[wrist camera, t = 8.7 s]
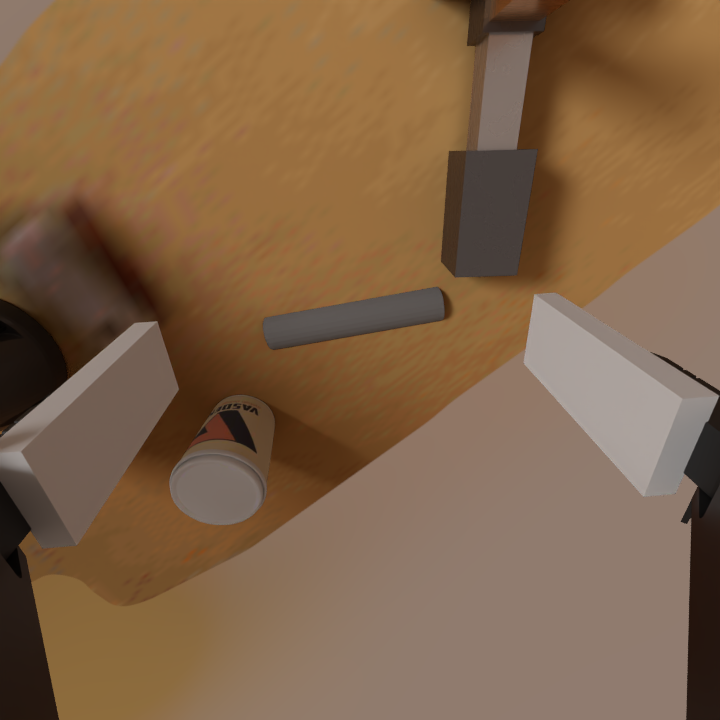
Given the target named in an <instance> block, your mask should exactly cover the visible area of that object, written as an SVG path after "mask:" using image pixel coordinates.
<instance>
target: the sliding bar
mask: <svg viewBox="0 0 720 720" xmlns="http://www.w3.org/2000/svg"><path fill="white" fill-rule="evenodd" d="M568 1H569V0H471V4H470V17H469V29H468V41H467V46H476V50H475V61H474V72H473V83H472V94H471V105H470V116H469V127H468V138H467V149H466V151H485V150H517V144H518V137H519V130H520V123H521V116H522V109H523V102H524V95H525V88H526V81H527V74H528V67H529V60H530V53H531V46H532V39H533V38H534V37H535V36H537V35H539V34H540V33H542V32H543V31H544V29H545V23H546V16H547V15H549V14H550V13H552V12H553V11H555V10H556V9H558V8H559V7H561V6H562V5H564V4H565V3H567V2H568Z"/></svg>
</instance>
